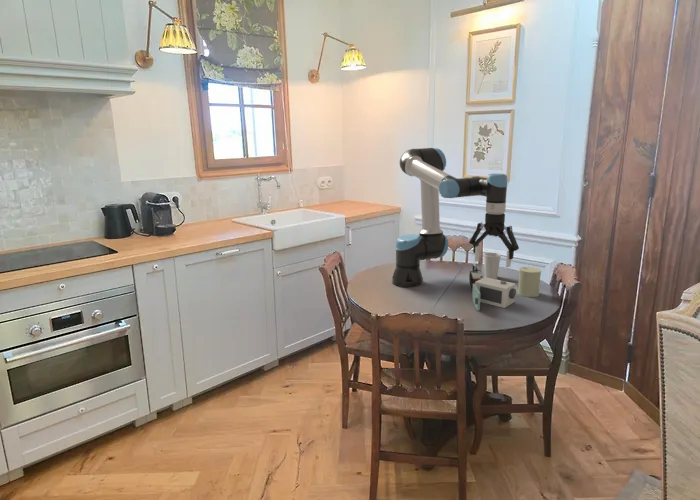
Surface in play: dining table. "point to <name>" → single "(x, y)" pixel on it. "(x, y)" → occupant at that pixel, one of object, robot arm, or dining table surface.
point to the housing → (496, 292)
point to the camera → (474, 276)
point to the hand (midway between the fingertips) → (492, 263)
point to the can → (529, 281)
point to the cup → (491, 265)
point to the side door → (476, 297)
